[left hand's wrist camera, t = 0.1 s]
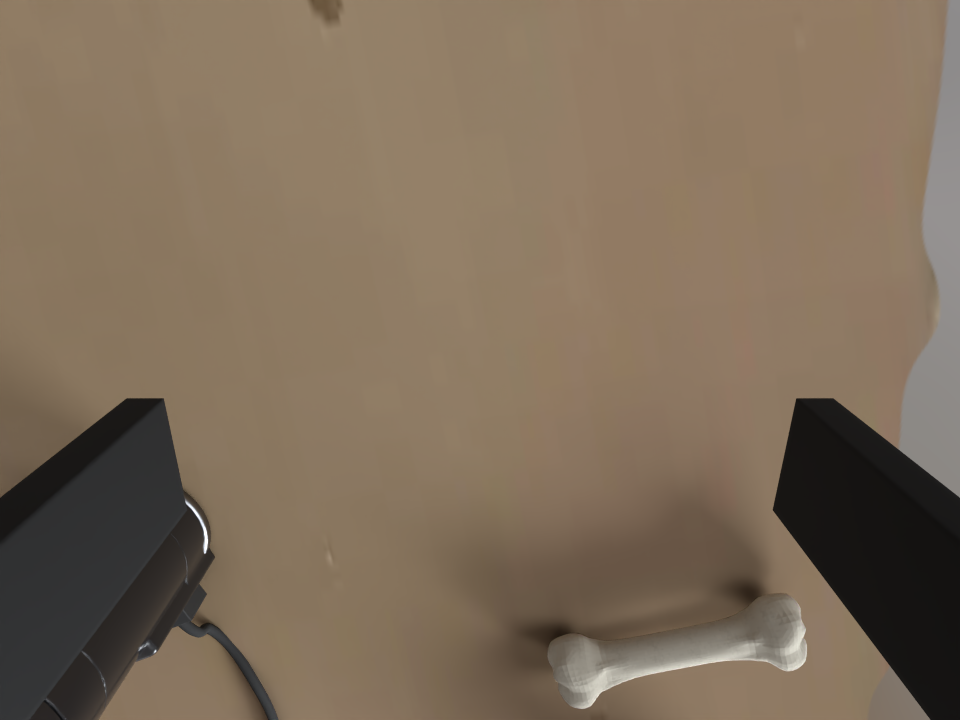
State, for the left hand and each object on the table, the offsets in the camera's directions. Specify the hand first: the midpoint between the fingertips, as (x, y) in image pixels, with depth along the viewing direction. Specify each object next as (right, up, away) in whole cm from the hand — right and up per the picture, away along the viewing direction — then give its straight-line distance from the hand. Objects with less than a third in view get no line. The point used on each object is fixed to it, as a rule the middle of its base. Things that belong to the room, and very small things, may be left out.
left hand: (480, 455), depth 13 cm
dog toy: (+16, -20, +38) cm, 46 cm away
